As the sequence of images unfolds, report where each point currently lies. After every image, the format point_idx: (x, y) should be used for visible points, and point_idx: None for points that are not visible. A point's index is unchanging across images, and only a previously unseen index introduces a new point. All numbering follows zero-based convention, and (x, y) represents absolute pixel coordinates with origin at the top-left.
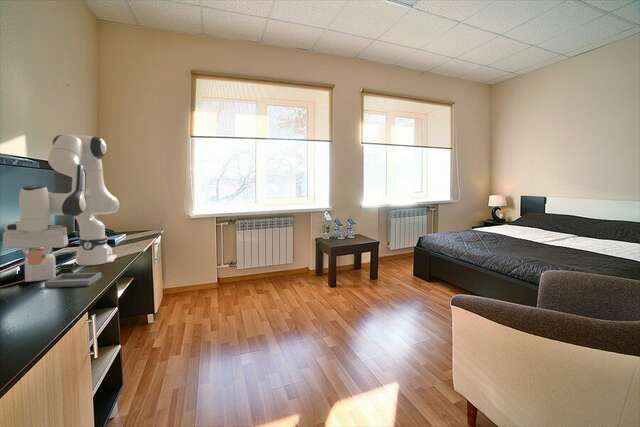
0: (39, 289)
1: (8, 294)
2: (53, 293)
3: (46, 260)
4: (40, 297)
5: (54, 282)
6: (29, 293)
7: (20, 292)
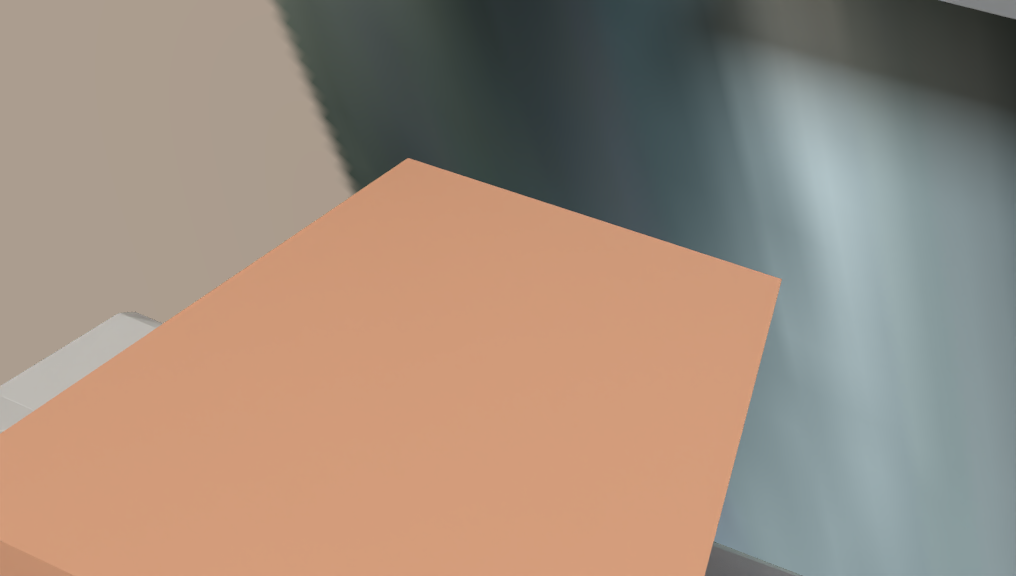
0: (699, 22)
1: (354, 126)
2: (975, 385)
3: (761, 335)
4: (816, 489)
5: (955, 3)
6: (612, 207)
7: (468, 88)
